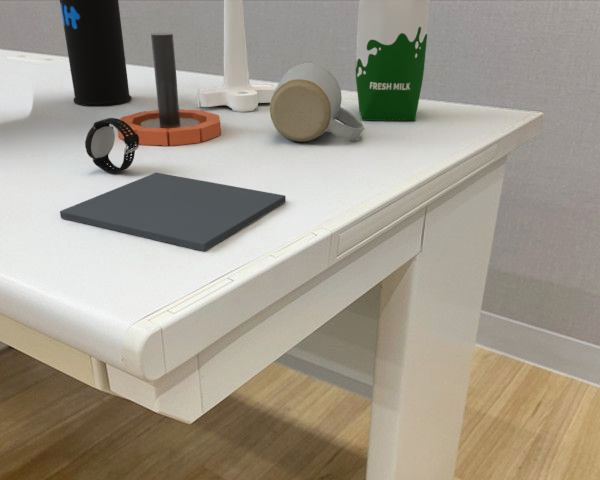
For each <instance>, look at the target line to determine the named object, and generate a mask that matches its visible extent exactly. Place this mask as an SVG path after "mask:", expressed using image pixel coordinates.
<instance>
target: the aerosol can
mask: <svg viewBox="0 0 600 480" xmlns="http://www.w3.org/2000/svg"><path fill="white" fill-rule="evenodd" d="M119 3H120V1H119V0H59V6H60V12H61V17H62V23H63V24H62V25H63V30H64V37H65V43H66V48H67V49H66V50H67V56H68V63H69V69H70V74H71V81H72V88H73V94H74V98H73V99H72V101H73V103H74V104H77V105H80V106H88V107H106V106H107V107H108V106H116V105H122V104H125V103H129V102H131V100H132V96H131V95H130V88H129V79H128V71H127V63H126V62H127V61H126V55H125V54H126V53H125V46H124V37H123V29H122V21H121V12H120V11H121V10H120V4H119Z"/></svg>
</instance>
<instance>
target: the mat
mask: <svg viewBox="0 0 600 480" xmlns="http://www.w3.org/2000/svg"><path fill="white" fill-rule="evenodd" d="M286 197H287V196H286V195H285V194H278V193H273V192H267V191H263V190H257V189H252V188H245V187H239V186H234V185H228V184H223V183H217V182H212V181H207V180H200V179H195V178H189V177H185V176H184V177H183V176H177V175H172V174H167V173H161V172H154V173H151V174H149V175H146V176H144V177H141V178H139V179H137V180H134V181H131V182H128V183H127V184H124V185H122V186H119V187H116V188H114V189H112V190H109V191H106V192H104V193H102V194H99V195H97V196H94V197H92V198H89V199H87V200H84V201H82V202H79V203H77V204H74V205H71V206H69V207H66V208H64V209H62V210H61V209H60V211H59V215H60V219H64V220H69V221H73V222H77V223H82V224H86V225H90V226H94V227H99V228H103V229H108V230H111V231H116V232H120V233H125V234H129V235H133V236H137V237H142V238H146V239H150V240H155V241H159V242H162V243H168V244H172V245H176V246H181V247H184V248H189V249H193V250H197V251H201V252H206V251H207V250H209V249H211V248H212V247H214V246H216V245H217V244H219V243H220V242H222V241H224V240H226V239H227V238H229V237H230V236H232V235H234V234H236V233H237V232H238V231H240V230H242V229H244V228H246V227H247V226H249V225H250V224H251V223H254V222H255V221H256V220H258V219H260V218H262V217H263V216H265V215H267V214H268V213H270V212H271V211H273V210H275V209H276V208H278V207H280V206H281V205H283V204H284V203H286V200H287V199H286Z"/></svg>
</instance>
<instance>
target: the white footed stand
mask: <svg viewBox="0 0 600 480" xmlns="http://www.w3.org/2000/svg"><path fill="white" fill-rule="evenodd" d="M243 2H244V0H223V85H222V86H216V87H206V88H199V89H196V94H197V95H196V97H197V107H198V108H210V107H218V106H227V107H229V108H231V110H232V111H234V112H239V113H240V112H241V113H246V112H248V113H249V112H253V111H255V109H256V108H257V107H259V104H262V103H263V104H264V103H265V104H270V102H271V98H272V95H273V93H274V90H275V89H276V87H277V86H274V85H269V84H267V85H265V84H263V85H261V84H260V85H257V84H256V85H251V83H250V73H249V62H248V61H249V60H248V51H247V48H248V47H247V39H246V38H247V37H246V25H245V16H244V15H245V11H244V3H243Z"/></svg>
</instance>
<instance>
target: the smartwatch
mask: <svg viewBox="0 0 600 480" xmlns="http://www.w3.org/2000/svg"><path fill="white" fill-rule="evenodd" d="M121 123H122V124H121ZM124 125H125V126H124ZM114 128H116V129H117V131H118V130H119V131H120V132H121V133H122V135H123V136H124V139H123V142H124V144H125V145H124V150H123V160H122V164H121V165H120V167H118V166H116V165H115V164H114V163H113V162H112V161H111V159H110V158H109V157H110V156H109V155H110V153H111V152H112V150H113V147H114V144H115V138H116V137H115V131H114ZM126 128H128V129H126ZM128 130H130V132H129V131H128ZM124 132H126V133H124ZM130 133H132V135H131V134H130ZM126 135H128V136H126ZM136 143H137V144H136ZM84 147H85V151H86V154H87V155H88V157H89V158H90V159H92V162H93V164H94V165H95V166H96V167H98V168H99V169H101V170H102V171H104V172H106V173H108V174H112V175H113V174H115V175H116V174H118V173H121V172H123V171H126V170H127V169H129V168H130V167H131V166H132V164H133V162H134V159H135V155H136V154H135V153H136V151H137V150H138V148H139V147H140V145H139V136H138V134H135V132H134V131H133V129H132V128H131V127H130V126H129V125H128V124H127V123H126V122H124V121H122V120H120V118H116V117H107V118H104V119H100V120H97V121H95V122H94V123H93V124H92V126H91V127H90V129H89V131H88V132H87V134H86V138H85V141H84Z"/></svg>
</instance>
